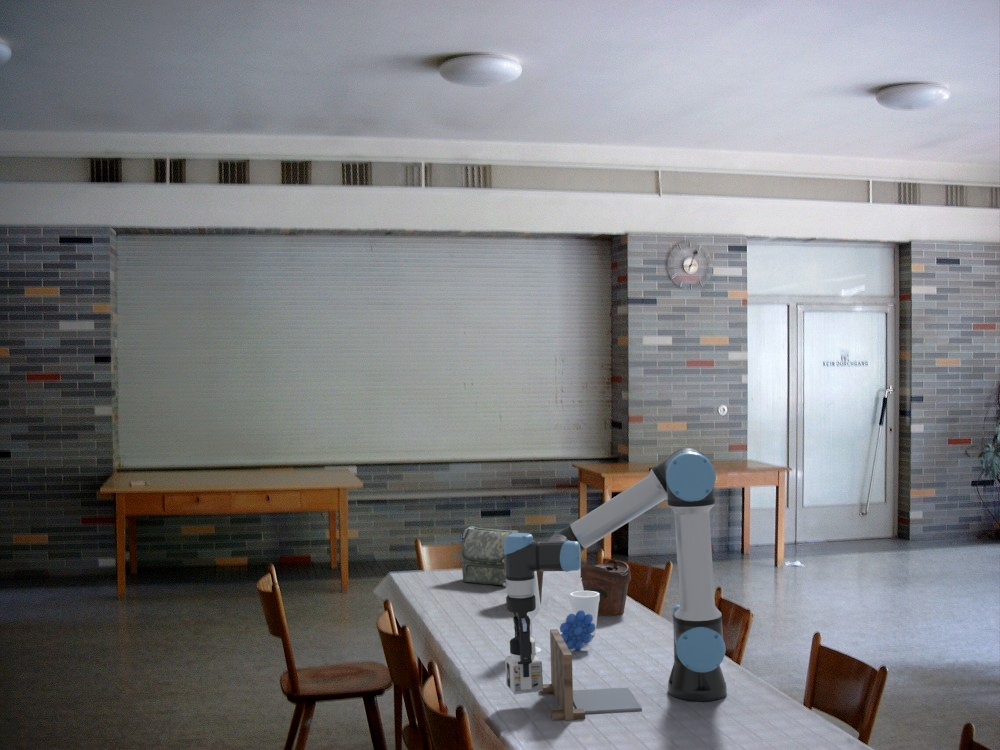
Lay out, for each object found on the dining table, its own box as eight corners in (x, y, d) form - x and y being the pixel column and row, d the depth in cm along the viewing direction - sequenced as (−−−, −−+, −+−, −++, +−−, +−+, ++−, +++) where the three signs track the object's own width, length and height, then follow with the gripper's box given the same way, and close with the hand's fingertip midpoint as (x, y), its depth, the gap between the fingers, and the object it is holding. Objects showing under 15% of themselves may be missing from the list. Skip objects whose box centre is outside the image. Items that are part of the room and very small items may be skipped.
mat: (642, 710, 244) (641, 707, 244) (578, 713, 242) (578, 711, 242) (627, 689, 260) (627, 687, 260) (568, 692, 258) (568, 690, 258)
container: (514, 695, 244) (512, 643, 244) (505, 686, 252) (503, 635, 252) (543, 691, 246) (541, 640, 246) (534, 682, 254) (532, 632, 254)
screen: (585, 719, 239) (584, 653, 238) (553, 721, 238) (551, 655, 238) (569, 687, 262) (568, 628, 262) (540, 689, 262) (538, 629, 262)
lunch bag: (454, 582, 399) (453, 529, 399) (478, 574, 415) (477, 522, 415) (508, 588, 385) (507, 533, 385) (531, 579, 401) (530, 526, 401)
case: (631, 604, 354) (629, 555, 354) (633, 618, 334) (631, 566, 334) (582, 605, 356) (580, 556, 356) (581, 619, 336) (579, 567, 336)
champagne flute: (528, 645, 304) (526, 568, 304) (546, 649, 299) (544, 571, 299) (515, 650, 298) (513, 572, 298) (532, 654, 294) (530, 575, 294)
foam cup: (598, 638, 310) (597, 597, 310) (569, 637, 312) (568, 596, 312) (601, 630, 320) (600, 590, 320) (573, 629, 321) (572, 590, 321)
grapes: (591, 644, 304) (590, 606, 304) (598, 650, 297) (597, 611, 297) (555, 647, 301) (554, 608, 301) (561, 653, 294) (560, 614, 294)
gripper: (502, 586, 259) (505, 672, 259) (510, 605, 238) (513, 697, 238) (530, 585, 260) (533, 670, 260) (540, 603, 239) (544, 695, 239)
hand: (524, 683), depth 249 cm, fingers closed on container, 8 cm apart
